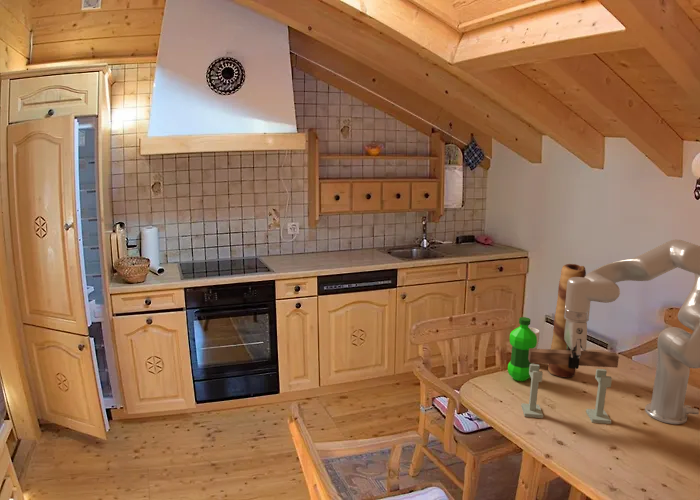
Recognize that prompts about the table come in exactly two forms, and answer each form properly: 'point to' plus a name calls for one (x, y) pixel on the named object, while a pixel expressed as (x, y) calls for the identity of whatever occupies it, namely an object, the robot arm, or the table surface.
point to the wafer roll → (560, 321)
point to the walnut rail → (563, 356)
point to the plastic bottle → (521, 350)
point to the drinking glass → (536, 336)
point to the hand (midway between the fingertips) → (571, 365)
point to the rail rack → (594, 414)
